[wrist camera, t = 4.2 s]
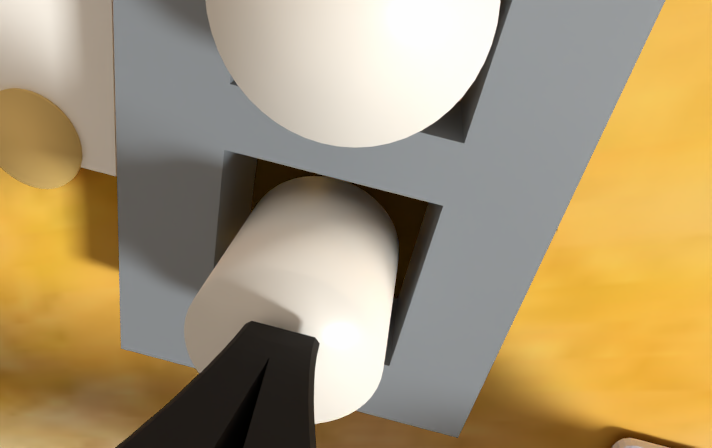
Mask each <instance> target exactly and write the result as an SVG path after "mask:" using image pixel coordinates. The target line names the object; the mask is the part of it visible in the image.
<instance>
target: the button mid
mask: <svg viewBox="0 0 712 448" xmlns="http://www.w3.org/2000/svg"><path fill="white" fill-rule="evenodd" d="M205 1H206V10H207V15H208V20H209V24H210V28H211V32H212V35H213V38H214V41H215V44H216V46H217V49H218V52H219V54H220V56H221V58H222V60H223V62H224V64H225V66H226V68H227V70H228V71H229V73H230V74H231V76H232V77H233V79H234V81H235V82H236V84H237V85H238V86H239V87H240V89H241V90H242V91H243V92H244V94H245V95H246V96H247V97H248V99H249V100H250V101H251V102H252V103H254V104H255V105H256V106H257V107H258V108H259V109H260V110H261V111H262V112H263V113H264V114H266V115H267V116H268V117H269V118H271V119H272V120H273V121H275V122H276V123H278V124H279V125H281V126H283V127H284V128H286V129H288V130H289V131H291V132H293V133H295V134H298V135H300V136H302V137H304V138H307V139H310V140H313V141H316V142H319V143H323V144H328V145H333V146H338V147H353V148H357V147H373V146H378V145H384V144H389V143H392V142H395V141H398V140H401V139H404V138H407V137H409V136H411V135H413V134H415V133H418V132H420V131H422V130H423V129H425V128H426V127H428V126H430V125H431V124H433V123H434V122H436V121H437V120H438V119H440V118H441V117H442V116H443V115H445V114H446V113H447V112H448V111H449V110H451V109H452V107H453V106H454V105H455V104H456V103H457V102H458V101H459V100H460V99H461V98H462V97H463V96H464V94H465V93H466V92H467V90H468V89H469V87H470V86H471V85H472V83H473V82H474V81H475V79H476V77H477V75H478V74H479V72H480V70H481V68H482V66H483V64H484V63H485V60H486V58H487V55H488V53H489V50H490V48H491V45H492V42H493V38H494V35H495V31H496V27H497V23H498V16H499V9H500V0H205Z"/></svg>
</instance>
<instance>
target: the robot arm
mask: <svg viewBox="0 0 712 448" xmlns="http://www.w3.org/2000/svg"><path fill="white" fill-rule="evenodd" d="M319 345H320V343H319V342H318V340H317V339H316V338H315V337H312V336H308V335H304V334H301V333H297V332H293V331H289V330H285V329H282V328H278V327H274V326H270V325H266V324H263V323H259V322H255V321H250V322H248V323H246V324H245V325H244V326H243V327H242V328H241V330H240V331H239V332H238V333H237V334H236V336H235V337H234V338H233V339H232V340H231V341H230V342H229V343H228V345H227V346H226V347H225V348H224V349H223V350H222V351H221V352H220V353H219V354H218V355H217V356H216V357H215V358H214V359H213V360H212V361H211V362H210V364H209V365H208V366H207V367H206V368H205V369H204V370H203V371H202V372H201V373H200V374H198V375H197V376H196V377H195V378H194V379H193V380H192V381H191V382H190V383H189V384H188V385H187V386H186V387H185V388H184V389H183V390H182V391H181V392H180V393H178V394H177V395H176V396H175V397H174V398H173V399H172V400H171V401H170V402H169V403H168V404H167V405H165V406H164V407H163V408H162V409H161V410H160V411H158V412H157V413H156V414H155V415H154V416H153V417H151V418H150V419H149V420H148V421H147V422H146V423H144V424H143V425H142V426H141V427H140V428H138V429H137V430H136V431H135V432H134V433H133V434H131V435H130V436H129V437H128V438H127V439H125V440H124V441H123V442H122V443H120V444H119V445H118V446H117V447H115V448H316V437H315V420H314V379H315V366H316V359H317V354H318V349H319ZM612 448H669V447H665V446H661V445H657V444H654V443H650V442H646V441H642V440H638V439H635V438H623V439H621V440H618V441H617V442H616V443H615V444H614V445H613V447H612Z"/></svg>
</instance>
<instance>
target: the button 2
mask: <svg viewBox="0 0 712 448" xmlns="http://www.w3.org/2000/svg"><path fill="white" fill-rule="evenodd" d="M398 260H399V240H398V236H397V232H396V229H395V227H394V224H393V222H392V220H391V218H390V217H389V215H388V213H387V212H386V211H385V210H384V208H383V207H382V206H381V205H380V204H379V203H378V202H377V201H376V200H375V199H374V198H373V197H372V196H370V195H369V194H368V193H367V192H365V191H363V190H362V189H360V188H358V187H357V186H354V185H352V184H350V183H348V182H345V181H342V180H339V179H335V178H330V177H322V176H307V177H300V178H295V179H292V180H289V181H286V182H283V183H281V184H279V185H277V186H276V187H274V188H273V189H271V190H270V191H269V192H267V193H266V194H265V195H264V196H263V197H262V198H261V200H260V201H259V202H258V203H257V205H256V206H255V208H254V209H253V211H252V212H251V214H250V215H249V217H248V218H247V220H246V221H245V223H244V224H243V226H242V227H241V229H240V230H239V232H238V233H237V235H236V236H235V238H234V239H233V241H232V242H231V244H230V245H229V247H228V248H227V250H226V251H225V253H224V254H223V256H222V257H221V259H220V260H219V262H218V263H217V265H216V266H215V268H214V269H213V271H212V272H211V274H210V275H209V277H208V278H207V280H206V281H205V283H204V284H203V286H202V287H201V289H200V290H199V292H198V293H197V295H196V296H195V298H194V299H193V301H192V303H191V305H190V307H189V308H188V311H187V314H186V317H185V324H184V338H185V344H186V348H187V351H188V354H189V357H190V359H191V361H192V363H193V365H194V367H195V368H196V370H197V371H198V372H199V374H200V373H201V372H202V371H203V370H204V369H205V368H206V367H207V366H208V365H209V364H210V362H211V361H212V360H213V359H214V358H215V357H216V356H217V355H218V354H219V353H220V352H221V351H222V350H223V349H224V348H225V347H226V346H227V345H228V343H229V342H230V341H231V340H232V339H233V338H234V337H235V336H236V334H237V333H238V332H239V331H240V330H241V328H242V327H243V326H244V325H245V324H246V323H248V322H250V321H255V322H259V323H263V324H266V325H270V326H274V327H278V328H282V329H285V330H289V331H293V332H297V333H301V334H304V335H308V336H312V337H315V338H316V339H317V340H318V342H319V343H320V345H319V349H318V354H317V359H316V366H315V379H314V420H315V424H317V423H324V422H329V421H332V420H336V419H339V418H342V417H344V416H346V415H349V414H350V413H352V412H354V411H356V410H357V409H359V408H360V407H361V406H362V405H364V404H365V403H366V402H367V401H368V400H369V399H370V398H371V397H372V395H373V394H374V392H375V391H376V389H377V387H378V385H379V383H380V380H381V377H382V373H383V368H384V361H385V354H386V346H387V339H388V332H389V325H390V318H391V310H392V303H393V296H394V289H395V282H396V274H397V267H398Z"/></svg>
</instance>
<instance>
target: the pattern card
mask: <svg viewBox="0 0 712 448" xmlns="http://www.w3.org/2000/svg"><path fill="white" fill-rule="evenodd" d="M0 167H1V168H2V169H3V170H4V171H5V172H7V173H8V174H9V175H10V176H12V177H13V178H15V179H17V180H18V181H20V182H22V183H24V184H27V185H29V186H32V187H36V188H42V189H53V188H58V187H61V186H63V185H65V184H67V183H68V182H70V181H71V180H72V179H73V178H75V176H76V175H77V174H78V173H79V171H80V169H81V167H82V168H85V169H89V170H93V171H97V172H101V173H105V174H109V175H113V176H117V152H116V109H115V66H114V23H113V0H0Z"/></svg>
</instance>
